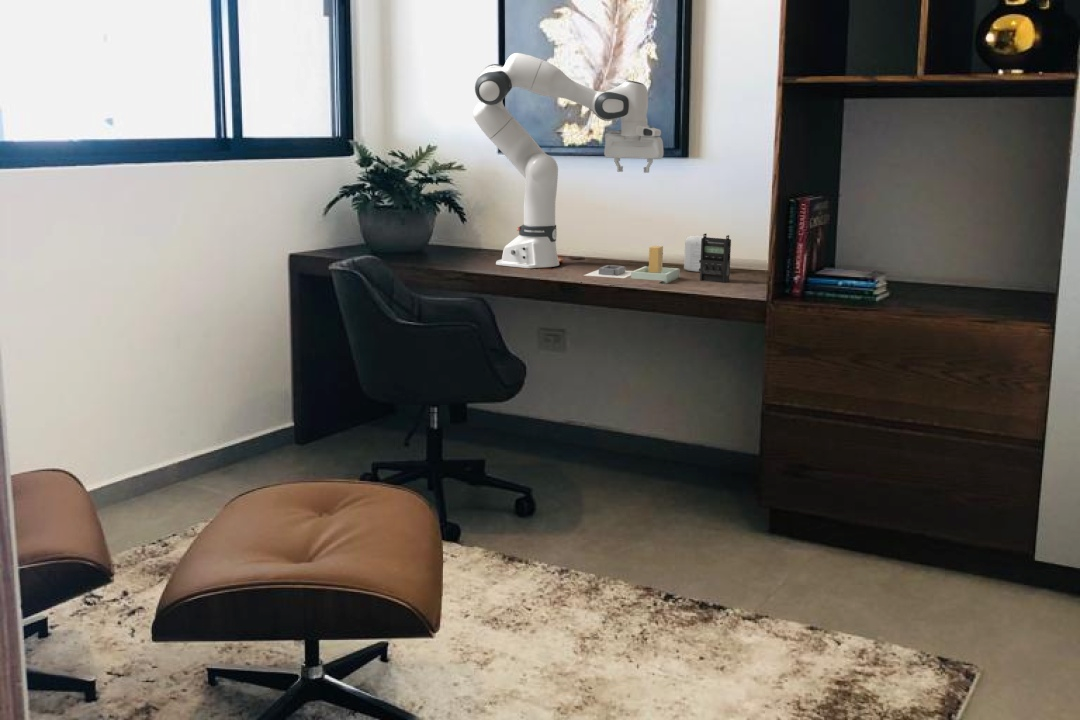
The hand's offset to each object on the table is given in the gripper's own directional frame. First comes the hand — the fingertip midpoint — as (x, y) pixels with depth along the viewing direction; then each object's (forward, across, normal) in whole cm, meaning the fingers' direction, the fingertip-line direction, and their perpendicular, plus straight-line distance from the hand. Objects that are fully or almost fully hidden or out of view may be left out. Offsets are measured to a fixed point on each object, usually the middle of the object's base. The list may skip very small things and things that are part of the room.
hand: (633, 172), depth 376 cm
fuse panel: (+33, 0, -19) cm, 38 cm away
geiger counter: (+33, +33, -14) cm, 49 cm away
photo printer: (+33, +23, +4) cm, 41 cm away
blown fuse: (+32, +15, -19) cm, 40 cm away
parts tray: (+33, +15, -19) cm, 41 cm away
